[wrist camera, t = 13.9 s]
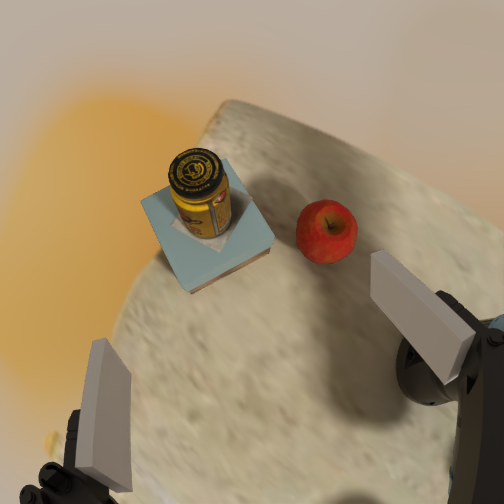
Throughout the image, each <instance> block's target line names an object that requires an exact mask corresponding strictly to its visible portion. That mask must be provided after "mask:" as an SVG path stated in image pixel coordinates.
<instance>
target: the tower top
mask: <svg viewBox="0 0 504 504" xmlns="http://www.w3.org/2000/svg"><path fill="white" fill-rule="evenodd" d="M221 161H222V164H223V168H224V171H225V172H226V174H227V177H228V179H229V186H231V187H233V188H235V189H237V190H239V191H241V192H243V193H245V194H248V192H247V190H246V189H245V187H244V186H243V184H242V183H241V181H240V179H239V178H238V176H237V175H236V173H235V172H234V170H233V169H232V167H231V165H230V164H229V162H228V161H227V159H226V158H225V159H223V160H221ZM248 195H249V194H248ZM141 204H142V206H143V208H144V210H145V213H146V214H147V217H148V219H149V221H150V223H151V225H152V228H153V230H154V232H155V234H156V236H157V238H158V241H159V243H160V245H161V247H162V249H163V251H164V253H165V255H166V257H167V259H168V261H169V263H170V265H171V267H172V269H173V271H174V273H175V275H176V277H177V279H178V281H179V283H180V285H181V287H182V288H183V289H185V290H186V291H187V292H189V291H191V290H192V289H194V288H196V287H198V286H200V285H202V284H204V283H205V282H207V281H209V280H211V279H213V278H215V277H216V276H218V275H220V274H222V273H224V272H226V271H227V270H229V269H231V268H233V267H235V266H237V265H239V264H240V263H242V262H244V261H246V260H248V259H250V258H251V257H253V256H255V255H257V254H259V253H261V252H262V251H264V250H266V249H268V248H270V247H272V244H273V241H274V238H275V235H274V234H273V232H272V230H271V229H270V227H269V226H268V224H267V222H266V221H265V219H264V218H263V216H262V214H261V213H260V211H259V210H258V208H257V206H256V205H255V203H254V202H253V200H251V202H250V203H249V205H248V207H247V209H246V210H245V212H244V214H243V215H242V217H241V218H240V220H239V222H238V224H237V225H236V227H235V229H234V230H233V232H232V234H231V235H230V237H229V239H228V240H227V242H226V244H225V245H224V247H223V249H222V250H221V252H220V253H219V252H217V251H215V250H213V249H211V248H210V247H207V246H206V245H204V244H202V243H200V242H198V241H197V240H195V239H193V238H191V237H189V236H187V235H186V234H184V233H182V232H180V231H178V230H177V229H175V228H173V227H172V226H171V224H172V223H173V222H174V220H175V219H176V217H177V216H178V214H179V211H178V209H177V207H176V205H175V203H174V201H173V199H172V196H171V191H170V186H168V187H166V188H164V189H162V190H160V191H158V192H156V193H154V194H152V195H150V196H149V197H147V198H145V199H143V200H141Z"/></svg>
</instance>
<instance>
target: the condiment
mask: <svg viewBox="0 0 504 504" xmlns="http://www.w3.org/2000/svg"><path fill="white" fill-rule="evenodd" d="M168 178H169V182H170V191H171V196H172V199H173V201H174V203H175V205H176V207H177V209H178V211H179V214H178V216H177V217H176V219H175V220H174V222H173V223H172V224H171V226H172V227H173V228H175V229H177V230H178V231H180V232H182V233H184V234H186V235H187V236H189V237H191V238H193V239H195V240H197V241H198V242H200V243H202V244H204V245H206V246H207V247H210V248H211V249H213V250H215V251H217V252H219V253H220V252H221V250H222V249H223V247H224V245H225V244H226V242H227V240H228V239H229V237H230V235H231V234H232V232H233V230H234V229H235V227H236V225H237V224H238V222H239V220H240V218H241V217H242V215H243V214H244V212H245V210H246V209H247V207H248V205H249V203H250V202H251V200H252V199H253V197H252V196H250V195H248V194H245V193H243V192H241V191H239V190H237V189H235V188H233V187H231V186H229V179H228V177H227V174H226V172H225V171H224V168H223V164H222V161H221V160H220V159H219V157H218V156H217V155H216V154H215V153H213V152H212V151H209V150H207V149H203V148H193V149H188V150H186V151H184V152H182V153H181V154H179V155H178V156H177V157H176V158H175V159H174V160H173V162H172V163H171V165H170V168H169V173H168Z"/></svg>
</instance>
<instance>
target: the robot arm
mask: <svg viewBox="0 0 504 504" xmlns="http://www.w3.org/2000/svg"><path fill="white" fill-rule="evenodd" d="M370 298H371V299H372V300H373V301H374V302H375V303H376V304H377V305H378V307H379V308H380V309H381V310H382V311H383V312H384V313H385V315H386V316H387V317H388V318H389V319H390V320H391V321H392V323H393V324H394V325H395V326H396V327H397V328H398V330H399V331H400V332H401V333H402V334H403V335H404V339H403V341H402V343H401V345H400V348H399V351H398V356H397V363H396V371H397V378H398V382H399V385H400V387H401V389H402V391H403V392H404V394H405V395H406V396H407V397H408V398H409V399H410V400H412V401H414V402H416V403H419V404H422V405H426V406H437V405H441V404H444V403H448V402H451V401H458V416H457V426H456V437H455V446H454V453H453V460H452V466H451V467H450V471H449V478H450V481H449V489H448V494H449V499H448V503H447V504H504V314H502V315H499V316H497V317H496V318H491V319H485V320H478V319H477V318H476V317H475V316H474V315H473V314H471V313H470V312H469V311H468V310H467V309H466V308H464V306H463V305H462V304H461V303H458V301H457V300H456V299H455V298H454V297H453V296H452V295H450V294H448V293H446V292H444V291H441V290H440V291H438V292H436V293H434V292H432V291H431V290H430V289H429V288H428V287H427V286H426V285H425V284H424V283H422V282H421V281H420V280H419V279H418V278H417V277H416V276H414V275H413V274H412V273H411V272H410V271H409V270H408V269H406V268H405V267H404V266H403V265H402V264H401V263H399V262H398V261H397V260H396V259H395V258H393V257H392V256H391V255H390V254H389V253H388V252H386V251H385V250H384V249H383V250H380V251H377V252H374V253H372V254H371V287H370ZM130 404H131V373H130V372H129V370H128V369H127V367H126V366H125V365H124V363H123V362H122V360H121V359H120V358H119V356H118V355H117V353H116V352H115V350H114V349H113V348H112V346H111V345H110V343H109V342H108V340H107V339H106V338H102V339H99V340H95V341H93V342H92V346H91V351H90V356H89V362H88V367H87V372H86V378H85V384H84V390H83V397H82V404H81V409H79V410H74V411H73V412H72V414H71V416H70V418H69V420H68V427H67V431H68V433H67V435H66V440H67V441H66V443H65V453H64V463H63V467H62V466H61V465H59V464H58V463H55V462H48V463H47V464H45V465H44V466H43V467H42V468H41V470H40V472H39V483H40V486H41V487H43V488H41V489H39V488H37V487H36V486H34V485H26V486H25V487H23V489H22V490H21V492H20V497H19V498H20V504H118V503H117V502H116V501H115V499H114V498H113V497H111V496H110V495H109V489H111V490H113V491H115V492H116V493H120V492H133V489H132V473H131V444H130Z"/></svg>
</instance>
